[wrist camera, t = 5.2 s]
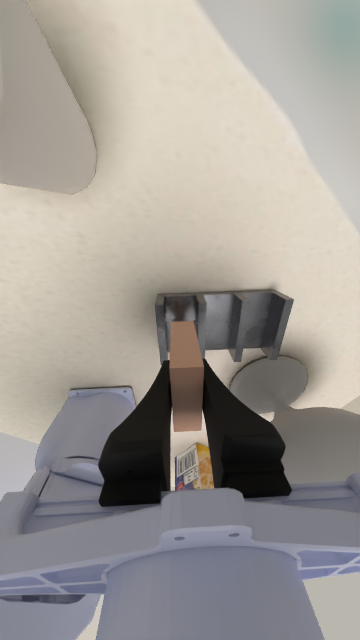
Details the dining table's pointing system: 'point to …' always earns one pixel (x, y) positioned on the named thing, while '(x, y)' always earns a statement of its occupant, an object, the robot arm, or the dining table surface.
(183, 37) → the dining table surface
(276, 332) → the dish rack
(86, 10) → the dining table surface
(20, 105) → the foam cup
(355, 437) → the chalice
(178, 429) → the tan wooden block
